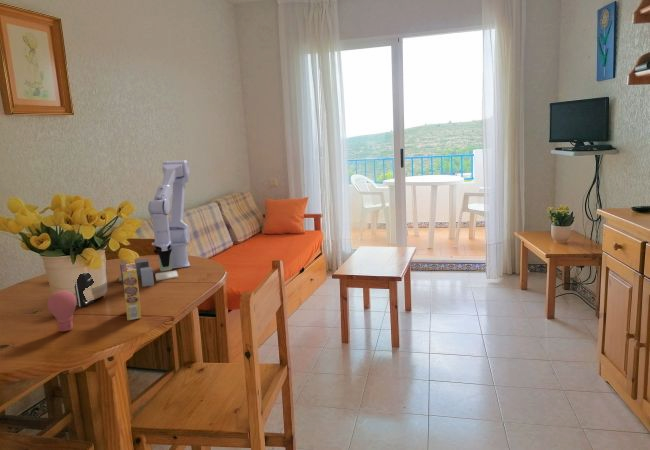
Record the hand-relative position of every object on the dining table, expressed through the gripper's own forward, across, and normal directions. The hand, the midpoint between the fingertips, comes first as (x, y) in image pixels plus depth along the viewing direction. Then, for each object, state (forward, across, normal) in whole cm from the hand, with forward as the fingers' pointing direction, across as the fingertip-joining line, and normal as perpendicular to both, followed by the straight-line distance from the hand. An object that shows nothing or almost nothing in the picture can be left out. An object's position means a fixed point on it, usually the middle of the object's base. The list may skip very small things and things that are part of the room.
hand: (165, 265), depth 181 cm
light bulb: (+5, +41, -30) cm, 51 cm away
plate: (+4, 0, 0) cm, 4 cm away
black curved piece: (+5, +19, -26) cm, 33 cm away
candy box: (+5, +37, -12) cm, 39 cm away
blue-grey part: (+4, +7, -7) cm, 11 cm away
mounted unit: (+4, -4, -11) cm, 13 cm away
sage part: (+2, 0, 0) cm, 2 cm away
